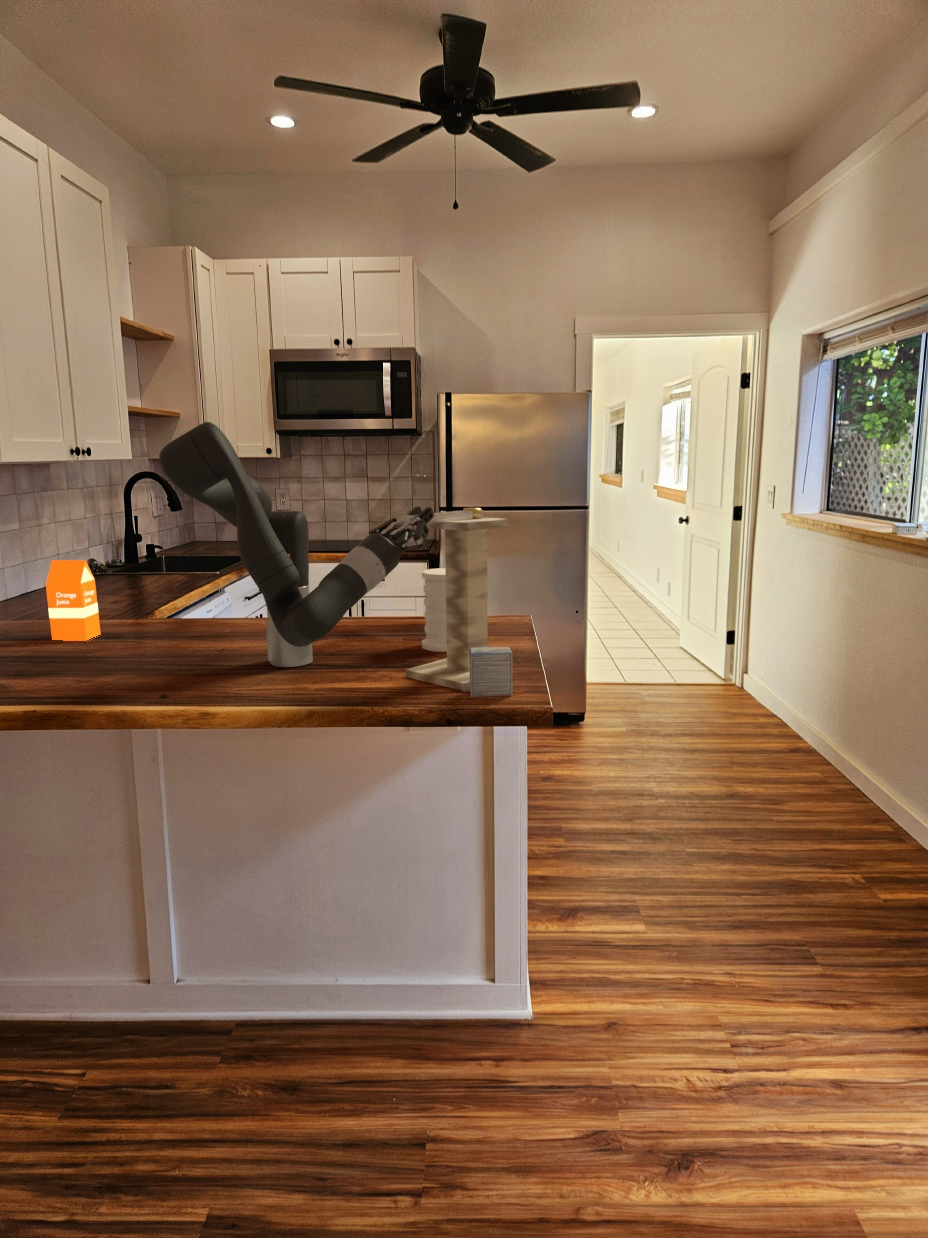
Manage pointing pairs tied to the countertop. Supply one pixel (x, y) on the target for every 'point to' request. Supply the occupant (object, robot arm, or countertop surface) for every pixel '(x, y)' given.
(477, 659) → the medicine box
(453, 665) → the tool stand
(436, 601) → the decorative container
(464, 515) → the slotted wooden block
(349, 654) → the countertop surface
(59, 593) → the orange juice
